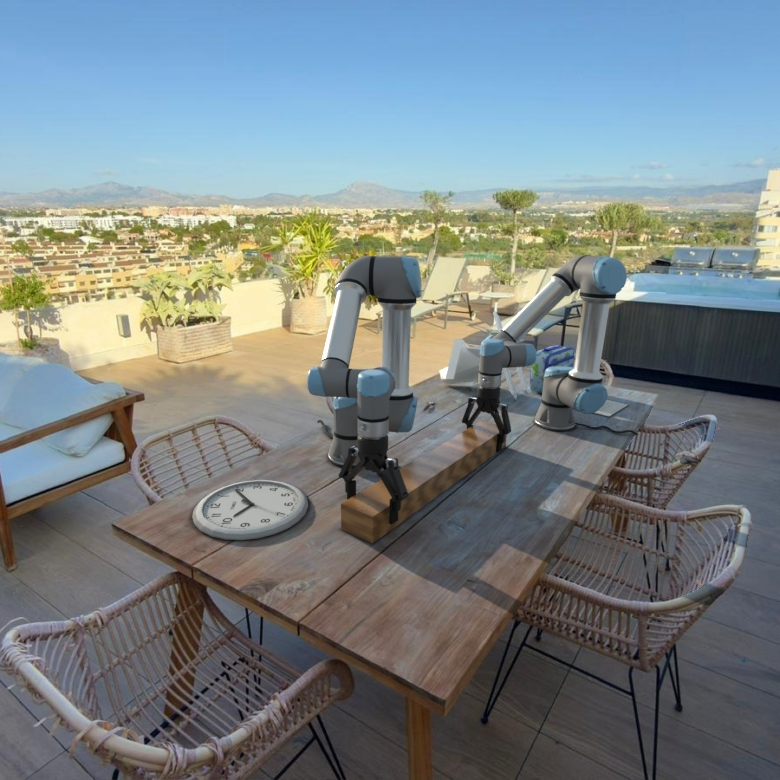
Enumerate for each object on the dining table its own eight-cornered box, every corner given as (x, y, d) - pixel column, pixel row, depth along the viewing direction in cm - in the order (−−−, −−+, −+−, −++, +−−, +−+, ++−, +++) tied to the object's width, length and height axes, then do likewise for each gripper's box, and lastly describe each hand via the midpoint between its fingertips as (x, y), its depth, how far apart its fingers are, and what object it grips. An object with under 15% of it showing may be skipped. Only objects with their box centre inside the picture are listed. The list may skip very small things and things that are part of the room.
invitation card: (608, 416, 214) (573, 407, 224) (608, 416, 214) (573, 408, 224) (628, 404, 229) (594, 396, 238) (628, 405, 229) (594, 397, 238)
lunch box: (546, 398, 236) (551, 353, 229) (525, 393, 243) (529, 349, 237) (573, 387, 253) (579, 344, 247) (553, 382, 260) (558, 341, 254)
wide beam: (479, 439, 189) (481, 420, 187) (505, 446, 183) (507, 427, 181) (341, 529, 132) (340, 503, 129) (372, 543, 126) (372, 516, 124)
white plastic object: (461, 429, 252) (437, 405, 227) (444, 352, 274) (420, 323, 250) (535, 404, 240) (518, 377, 215) (510, 326, 262) (492, 293, 237)
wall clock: (304, 532, 127) (176, 536, 124) (304, 538, 127) (177, 542, 125) (311, 475, 155) (207, 478, 153) (311, 480, 156) (208, 483, 153)
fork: (420, 411, 216) (420, 406, 216) (430, 400, 230) (431, 395, 230) (426, 412, 215) (426, 407, 215) (436, 401, 230) (436, 396, 229)
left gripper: (324, 427, 130) (325, 503, 136) (406, 452, 116) (403, 536, 122) (344, 419, 136) (344, 493, 142) (424, 442, 122) (421, 523, 128)
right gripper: (453, 382, 178) (450, 442, 185) (516, 395, 165) (510, 459, 172) (464, 377, 184) (460, 435, 190) (525, 389, 171) (519, 452, 177)
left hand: (372, 513), depth 132 cm, fingers open, 13 cm apart
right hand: (484, 447), depth 181 cm, fingers closed on wide beam, 10 cm apart
